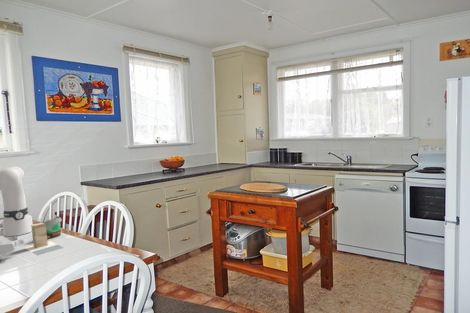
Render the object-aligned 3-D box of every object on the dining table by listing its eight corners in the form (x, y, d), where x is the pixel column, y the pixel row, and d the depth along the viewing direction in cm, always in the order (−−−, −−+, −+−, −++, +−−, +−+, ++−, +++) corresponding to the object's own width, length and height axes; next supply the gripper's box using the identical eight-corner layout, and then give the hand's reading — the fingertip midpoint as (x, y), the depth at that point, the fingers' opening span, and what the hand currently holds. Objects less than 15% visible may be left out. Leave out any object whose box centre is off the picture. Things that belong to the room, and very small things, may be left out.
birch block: (33, 246, 172) (31, 225, 171) (44, 243, 175) (42, 222, 174) (37, 248, 168) (34, 226, 167) (47, 245, 172) (45, 224, 171)
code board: (24, 248, 171) (24, 247, 171) (49, 241, 180) (49, 240, 180) (37, 255, 158) (37, 255, 158) (64, 248, 167) (64, 247, 167)
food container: (52, 240, 181) (50, 222, 180) (42, 240, 182) (40, 222, 181) (68, 233, 193) (66, 215, 192) (58, 233, 194) (56, 215, 193)
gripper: (-20, 250, 162) (14, 242, 172) (-8, 259, 148) (27, 250, 158) (-21, 237, 161) (12, 229, 171) (-10, 245, 148) (26, 236, 158)
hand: (20, 239), depth 165 cm, fingers open, 8 cm apart
